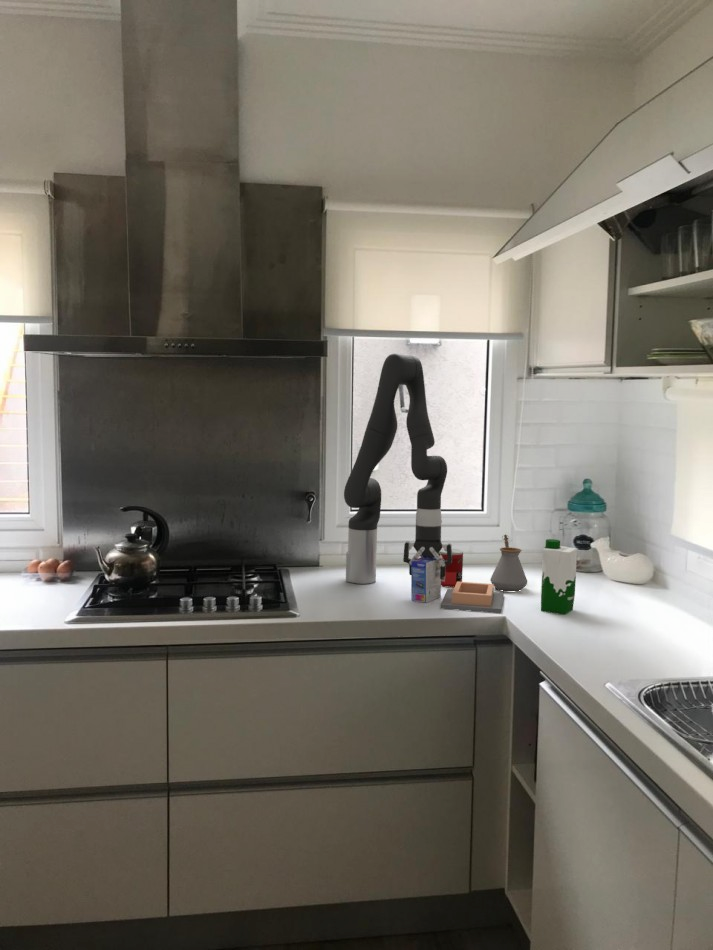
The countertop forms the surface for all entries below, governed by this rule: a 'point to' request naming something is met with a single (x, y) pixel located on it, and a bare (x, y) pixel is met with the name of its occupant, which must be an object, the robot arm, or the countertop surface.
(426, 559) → the ink cartridge box
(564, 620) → the countertop surface
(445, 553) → the canned food
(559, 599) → the milk carton
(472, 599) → the dock
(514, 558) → the coffee pot
